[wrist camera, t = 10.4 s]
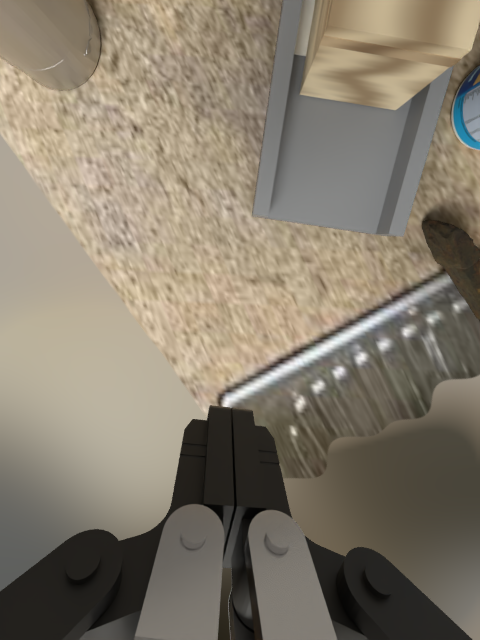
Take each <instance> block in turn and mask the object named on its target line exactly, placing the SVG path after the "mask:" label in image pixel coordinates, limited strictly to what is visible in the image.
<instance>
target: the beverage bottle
mask: <svg viewBox="0 0 480 640" xmlns="http://www.w3.org/2000/svg"><path fill="white" fill-rule="evenodd" d="M451 121H452V127H453V130H454V133H455V135H456V136H457V138H458V139H459V141H460V142H461V143H463V144H464V145H465V146H467V147H469V148H471V149H475V150H480V65H479V66H478V67H477V68H475V69H474V70H473V71H472V72H471V73H470V74H469V75H468V76H467V77H466V79H465V80H464V81H463V83H462V84H461V86H460V87H459V89H458V91H457V93H456V96H455V98H454V101H453V105H452V112H451Z"/></svg>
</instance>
